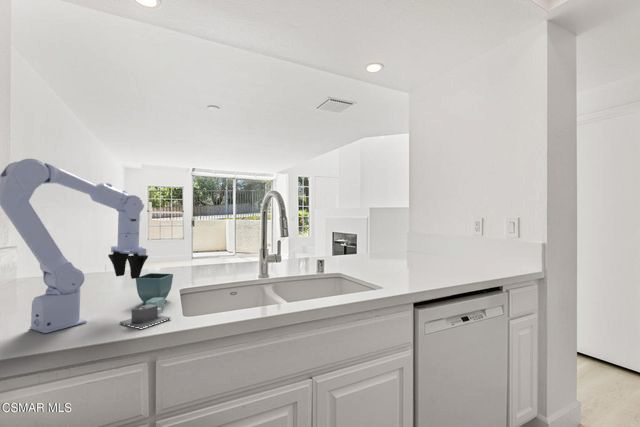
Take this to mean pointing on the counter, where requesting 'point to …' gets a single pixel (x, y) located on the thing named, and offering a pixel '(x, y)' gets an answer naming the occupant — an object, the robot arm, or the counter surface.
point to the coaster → (159, 319)
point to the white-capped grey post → (145, 313)
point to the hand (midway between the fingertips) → (127, 277)
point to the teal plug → (157, 302)
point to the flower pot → (153, 285)
